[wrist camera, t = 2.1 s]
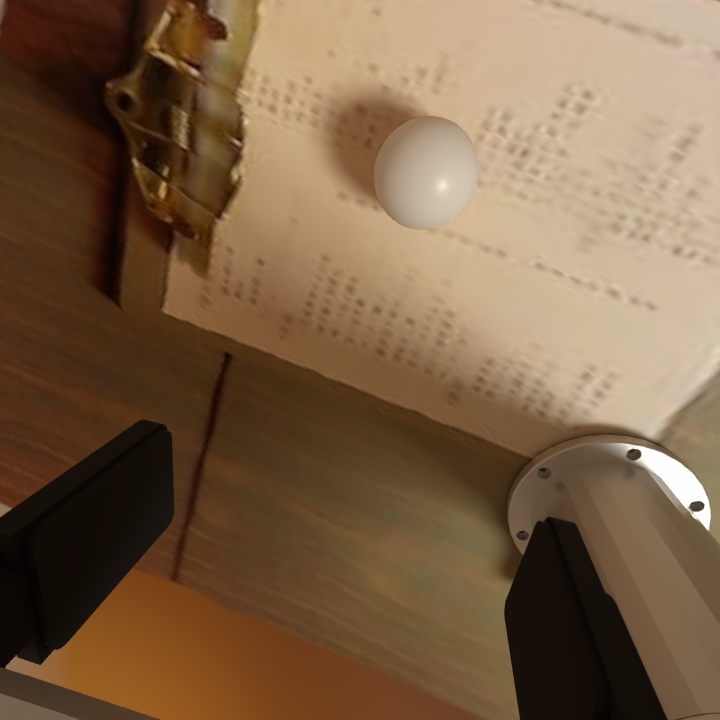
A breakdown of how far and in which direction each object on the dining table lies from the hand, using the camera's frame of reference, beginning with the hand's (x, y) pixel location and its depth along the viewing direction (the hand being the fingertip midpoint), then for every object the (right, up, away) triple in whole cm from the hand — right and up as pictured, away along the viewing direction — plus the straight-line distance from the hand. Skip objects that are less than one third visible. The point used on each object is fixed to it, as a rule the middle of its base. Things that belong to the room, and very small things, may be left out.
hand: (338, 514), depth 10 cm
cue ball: (+4, +14, +12) cm, 18 cm away
